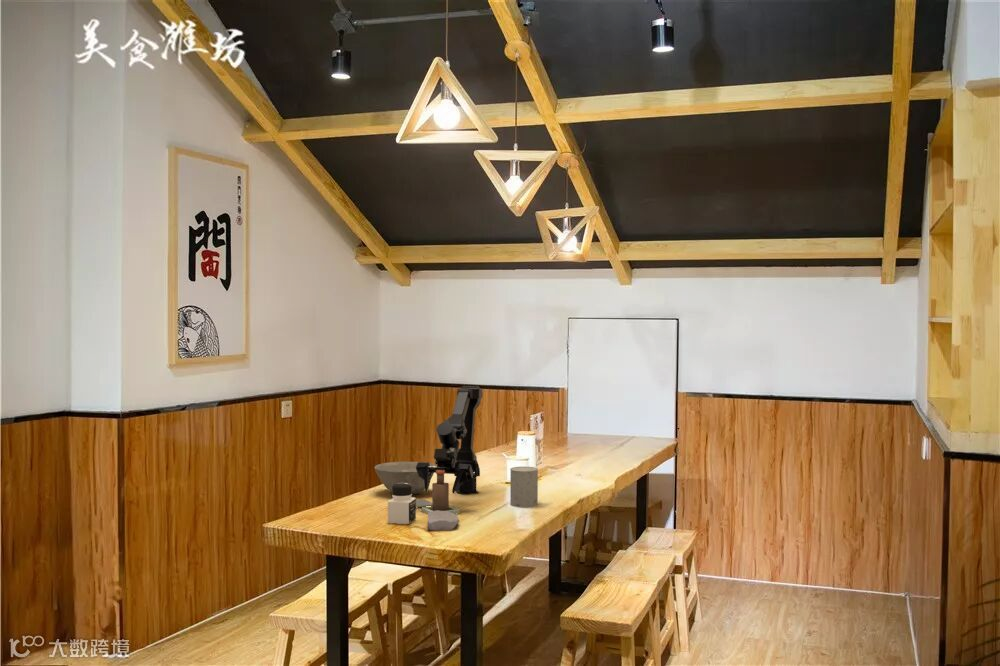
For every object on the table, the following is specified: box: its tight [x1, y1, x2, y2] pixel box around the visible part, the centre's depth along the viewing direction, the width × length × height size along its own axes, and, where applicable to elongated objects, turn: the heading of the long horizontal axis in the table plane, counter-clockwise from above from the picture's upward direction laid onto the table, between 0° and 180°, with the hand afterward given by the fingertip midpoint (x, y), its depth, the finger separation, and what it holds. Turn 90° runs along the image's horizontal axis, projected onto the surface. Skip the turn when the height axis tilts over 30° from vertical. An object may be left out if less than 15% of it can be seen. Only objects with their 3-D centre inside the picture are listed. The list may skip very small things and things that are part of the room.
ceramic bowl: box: [374, 460, 437, 495], centre depth 328 cm, size 22×23×10 cm
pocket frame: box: [420, 505, 461, 515], centre depth 297 cm, size 10×10×1 cm
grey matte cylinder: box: [509, 466, 539, 508], centre depth 310 cm, size 10×10×12 cm
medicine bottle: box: [387, 483, 417, 525], centre depth 284 cm, size 7×7×12 cm
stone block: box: [426, 510, 460, 532], centre depth 278 cm, size 12×5×10 cm
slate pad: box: [416, 499, 432, 507], centre depth 309 cm, size 10×10×1 cm
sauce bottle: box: [431, 469, 450, 511], centre depth 297 cm, size 5×5×14 cm
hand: (439, 491), depth 296 cm, fingers open, 9 cm apart
